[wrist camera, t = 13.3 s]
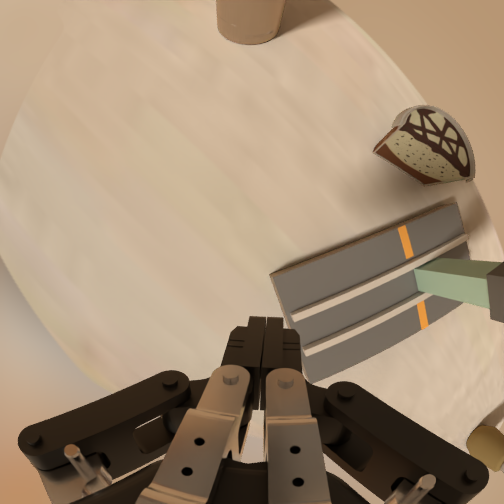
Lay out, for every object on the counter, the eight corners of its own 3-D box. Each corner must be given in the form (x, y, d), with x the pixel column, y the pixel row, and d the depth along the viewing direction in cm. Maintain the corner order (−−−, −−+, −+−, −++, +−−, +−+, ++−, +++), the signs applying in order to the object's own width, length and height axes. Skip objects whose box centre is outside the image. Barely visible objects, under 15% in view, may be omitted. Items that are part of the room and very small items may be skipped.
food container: (439, 157, 36) (482, 140, 26) (431, 191, 36) (477, 180, 26) (374, 113, 35) (410, 81, 25) (363, 147, 35) (400, 120, 25)
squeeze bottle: (456, 454, 38) (501, 494, 20) (471, 424, 38) (523, 462, 20) (478, 445, 39) (521, 480, 21) (492, 416, 38) (540, 449, 21)
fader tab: (409, 264, 32) (504, 277, 16) (436, 251, 33) (529, 255, 17) (416, 297, 32) (508, 324, 17) (443, 282, 33) (533, 299, 17)
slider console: (269, 274, 34) (274, 278, 30) (444, 204, 36) (461, 201, 32) (304, 374, 35) (312, 388, 31) (463, 291, 36) (480, 295, 32)
